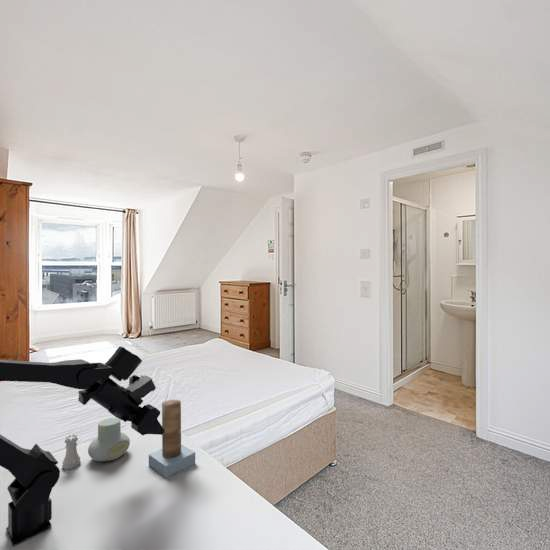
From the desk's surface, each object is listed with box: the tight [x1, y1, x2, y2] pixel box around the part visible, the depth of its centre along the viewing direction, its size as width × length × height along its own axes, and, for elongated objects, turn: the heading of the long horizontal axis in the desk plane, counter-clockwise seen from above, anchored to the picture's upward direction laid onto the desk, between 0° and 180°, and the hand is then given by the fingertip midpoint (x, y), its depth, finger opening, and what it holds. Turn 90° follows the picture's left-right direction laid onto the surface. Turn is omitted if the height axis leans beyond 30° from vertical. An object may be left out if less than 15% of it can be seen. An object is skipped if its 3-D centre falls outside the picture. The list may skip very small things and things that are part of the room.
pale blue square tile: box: [148, 444, 196, 479], centre depth 92 cm, size 9×9×3 cm
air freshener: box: [87, 417, 131, 462], centre depth 97 cm, size 11×8×10 cm
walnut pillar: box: [161, 399, 182, 458], centre depth 92 cm, size 5×5×14 cm
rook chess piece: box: [61, 434, 82, 471], centre depth 92 cm, size 4×4×8 cm
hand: (154, 427), depth 89 cm, fingers open, 9 cm apart
